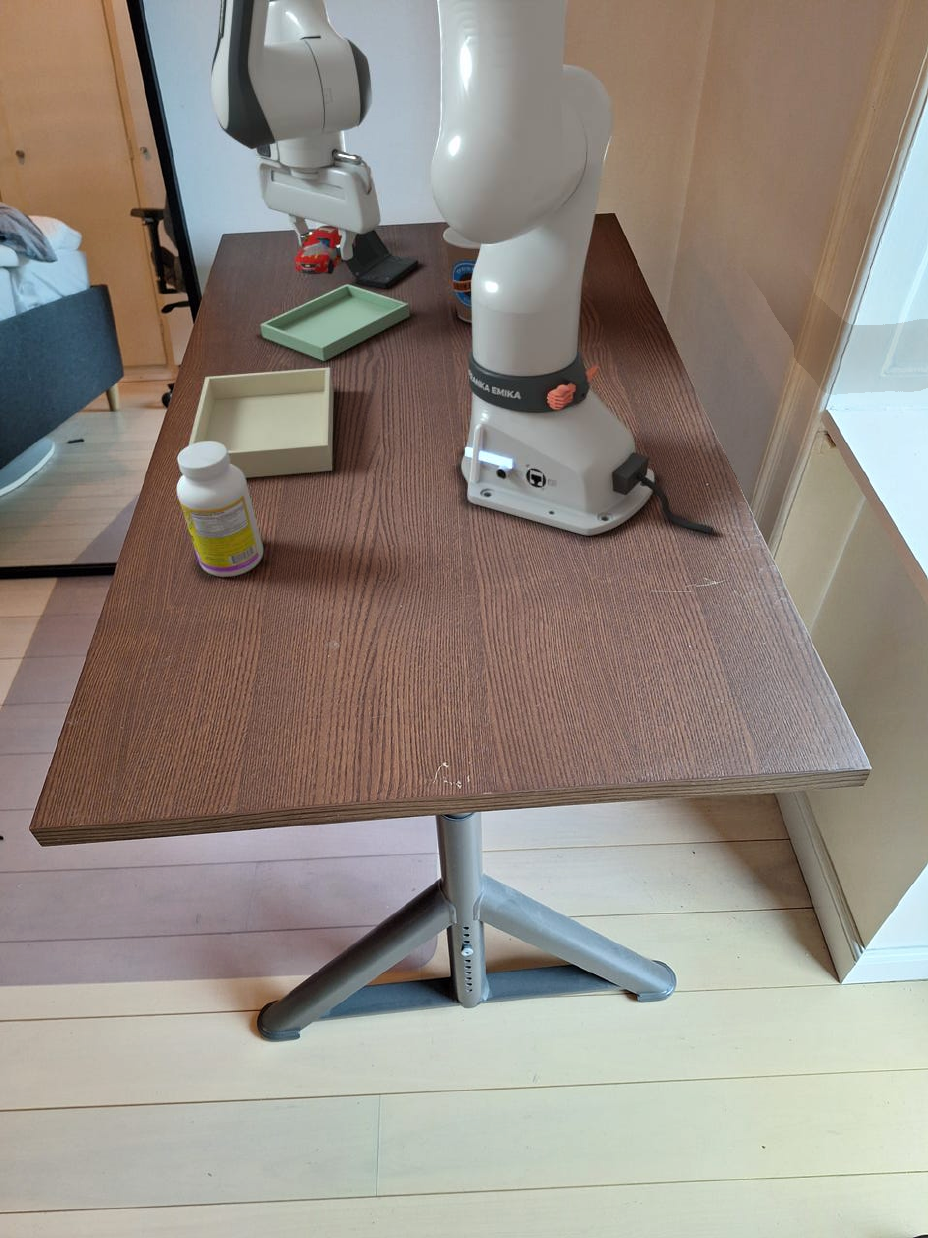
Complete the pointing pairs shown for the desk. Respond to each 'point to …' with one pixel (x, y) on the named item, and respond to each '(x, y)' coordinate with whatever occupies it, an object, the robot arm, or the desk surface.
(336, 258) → the race car
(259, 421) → the cream shallow box
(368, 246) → the handheld gaming console
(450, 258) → the coffee cup
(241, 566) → the supplement bottle
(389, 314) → the tray
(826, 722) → the desk surface
